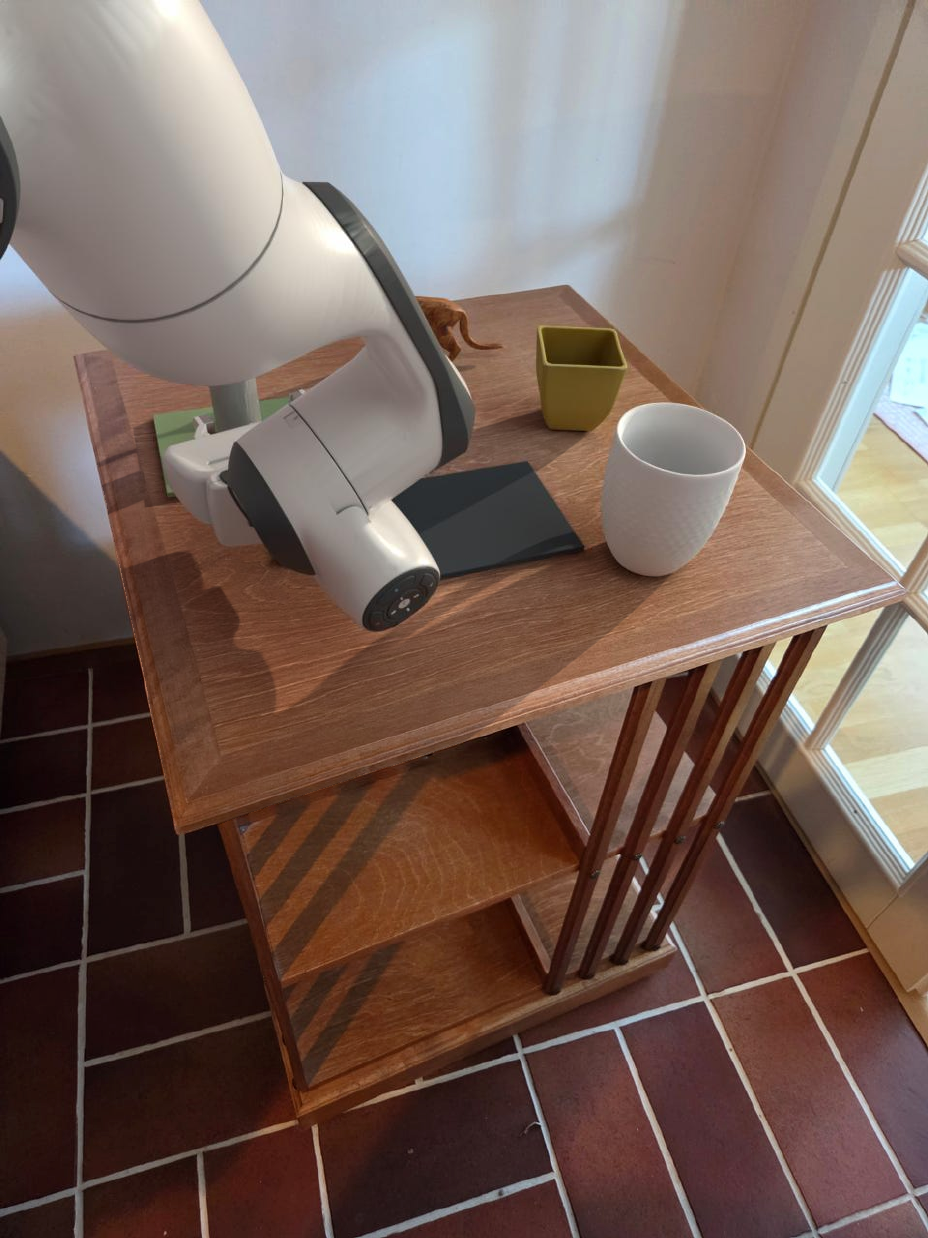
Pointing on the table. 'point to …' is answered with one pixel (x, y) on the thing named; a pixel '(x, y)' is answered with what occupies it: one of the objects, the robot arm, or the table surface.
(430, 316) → the cat figurine
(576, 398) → the flower pot
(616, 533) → the mug
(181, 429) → the sage mat
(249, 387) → the planter
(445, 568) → the slate mat
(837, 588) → the table surface
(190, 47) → the robot arm
